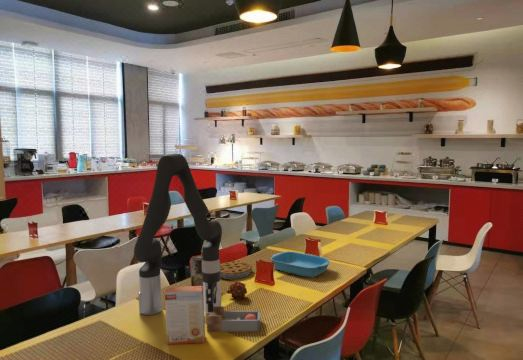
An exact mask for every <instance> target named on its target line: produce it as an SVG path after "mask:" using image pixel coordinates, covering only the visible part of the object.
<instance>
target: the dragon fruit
mask: <svg viewBox="0 0 523 360" xmlns="http://www.w3.org/2000/svg"><path fill="white" fill-rule="evenodd" d="M226 294H230V295H231V298H232V299H237V300H241V299H242V298H243V299H244V298H245V296H246V294H248V291H247V288H246V285H245V283H244V282H241V281H237V280H236V281H235V282H234V283H231V284H229V287H228V288H227V290H226Z"/></svg>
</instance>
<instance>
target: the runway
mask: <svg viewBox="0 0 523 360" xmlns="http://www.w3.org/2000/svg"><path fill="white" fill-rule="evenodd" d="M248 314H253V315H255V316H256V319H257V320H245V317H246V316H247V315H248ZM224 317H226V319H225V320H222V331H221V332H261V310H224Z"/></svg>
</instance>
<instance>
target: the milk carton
mask: <svg viewBox="0 0 523 360" xmlns="http://www.w3.org/2000/svg"><path fill="white" fill-rule="evenodd" d="M221 283H222V282H221V279H220V281H219V282H217V293H216V303H213V307H218V306H222V293H221V292H222V288H221V287H222V284H221ZM206 286H207V283H204V282H203V296H204V315H209V314H210V312H208V304H206ZM209 300H211V298H209Z"/></svg>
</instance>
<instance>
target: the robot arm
mask: <svg viewBox="0 0 523 360" xmlns="http://www.w3.org/2000/svg"><path fill="white" fill-rule="evenodd" d="M174 177H177V178H178V179H179V181H180V182H181V185H182V188H183V196H184V198H183V199H184V202H185V205H186V208H187V209H188V211H189V213H190V215H191V216H192V219H193V223H194V227H195V230H196V234H197V235H198V237H199V238H200V239H201V240H203V241H205V244H204V245H203V246H202V248H201V256H202V281H203V282H204V283H207V286H206V304H208V312H213V311H214V309H213V303H216V293H217V282H219V281H220V280H221V279H222V278H221V276H220V263H221V261H220V246H221V241H222V235H223V229H222V226H221V224H220V222H219V221H217V220H209V221H208V215H209V214H210V210H209V209H208V206H207V205H206V203H205V201H204V200H203V197H202V195H201V193H200V192H199V189H198V187H197V184H196V182H195V179H194V177H193V174H192V172H191V168H190V166H189V163H188V161H187V159H186V157H185V155H184V154H181V153H168V154H164V155H162V156H161V157H160V158H159V160H158V162H157V167H156V174H155V179H154V184H153V186H152V187H153V188H152V191H151V196H150V199H149V202H148V206H147V209H146V213H145V217H144V220H143V223H142V227H141V228H140V233H139V235H138V237H137V240H136V242H135V245H134V247H133V248H134V249H133V255H134V259H135V260H136V261H137V262H139V263H144V264H143V265H142V266H141V267H140V268H139V270H138V278H139V280H138V281H139V292H138V311H139V314H140V315H146V316H152V315H153V316H154V315H157V314H158V313H161V311H162V310H163V308H162V307H163V306H162V305H163V303H162V284H161V283H162V282H161V280H162V279H161V278H162V277H161V269H162V264H163V262H162V260H163V250H162V249H163V248H162V245H161V242H160V241H159V239H157V238H155V237H156V235H157V233H158V232H159V231H160V229H161V228H162V227H163V226H164V224H165V223H166V222H167V219H168V218H169V216H170V215H169V214H170V210H171V208H172V199H171V196H170V187H171V186H170V185H171V183H172V179H173V178H174ZM209 298H211V300H209Z"/></svg>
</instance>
